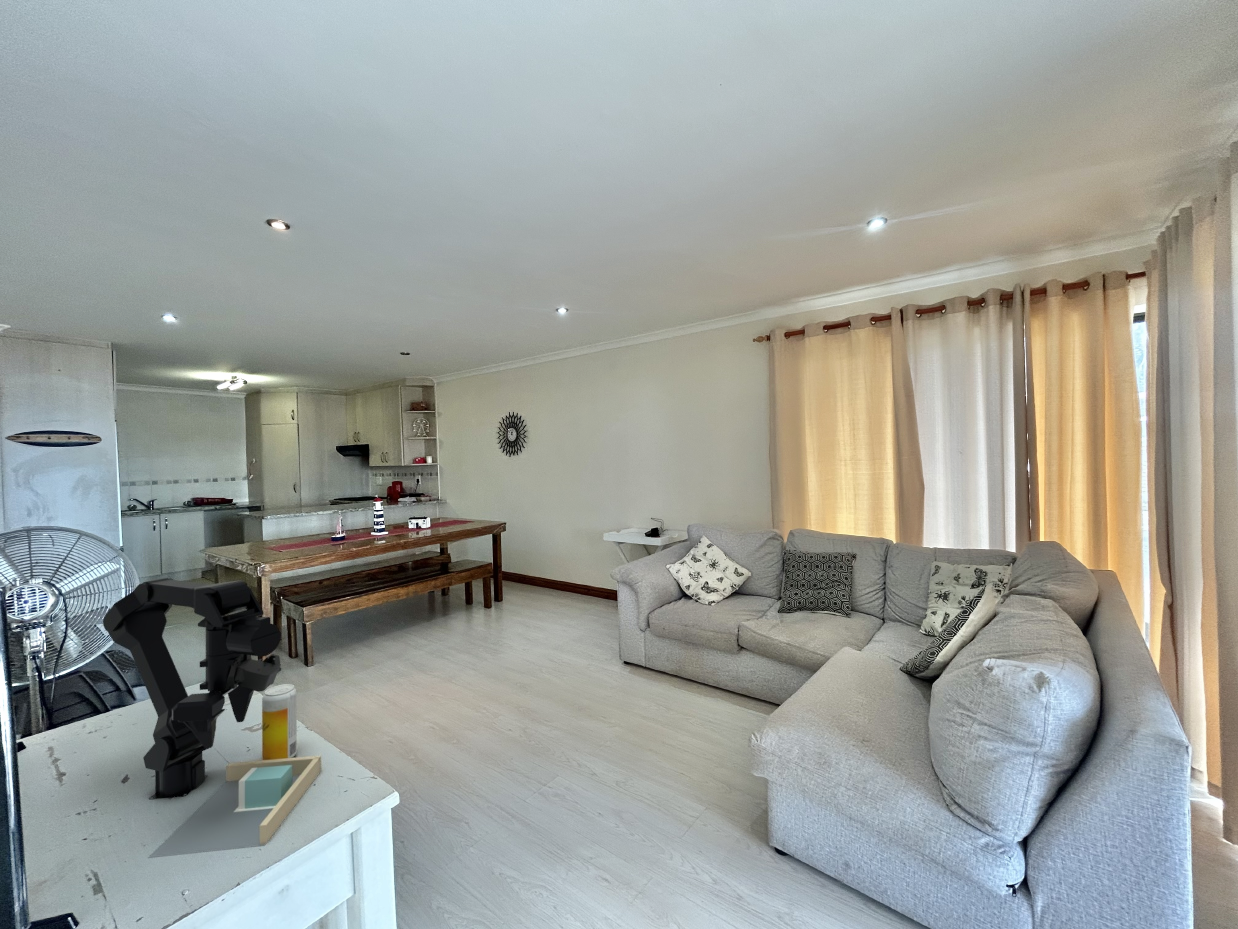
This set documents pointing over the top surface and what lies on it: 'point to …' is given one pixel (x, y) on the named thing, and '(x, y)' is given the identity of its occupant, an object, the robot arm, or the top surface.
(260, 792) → the teal block
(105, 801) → the top surface
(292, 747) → the beer can
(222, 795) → the board
